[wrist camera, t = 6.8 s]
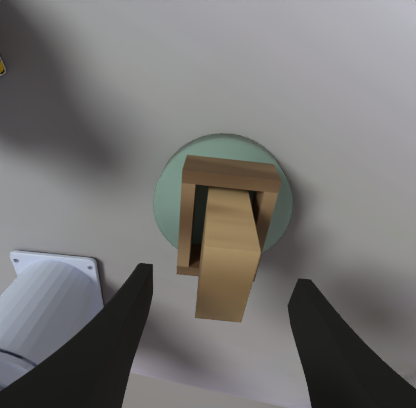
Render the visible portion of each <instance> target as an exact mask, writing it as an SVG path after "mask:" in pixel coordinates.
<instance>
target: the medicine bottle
mask: <svg viewBox="0 0 416 408" xmlns="http://www.w3.org/2000/svg"><path fill="white" fill-rule="evenodd" d="M5 73H6V68H5V66H4V63H3V61H2V59H1V57H0V75H3V74H5Z"/></svg>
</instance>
